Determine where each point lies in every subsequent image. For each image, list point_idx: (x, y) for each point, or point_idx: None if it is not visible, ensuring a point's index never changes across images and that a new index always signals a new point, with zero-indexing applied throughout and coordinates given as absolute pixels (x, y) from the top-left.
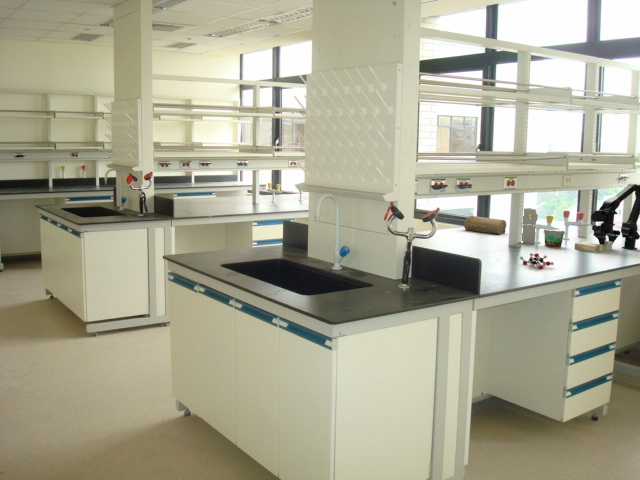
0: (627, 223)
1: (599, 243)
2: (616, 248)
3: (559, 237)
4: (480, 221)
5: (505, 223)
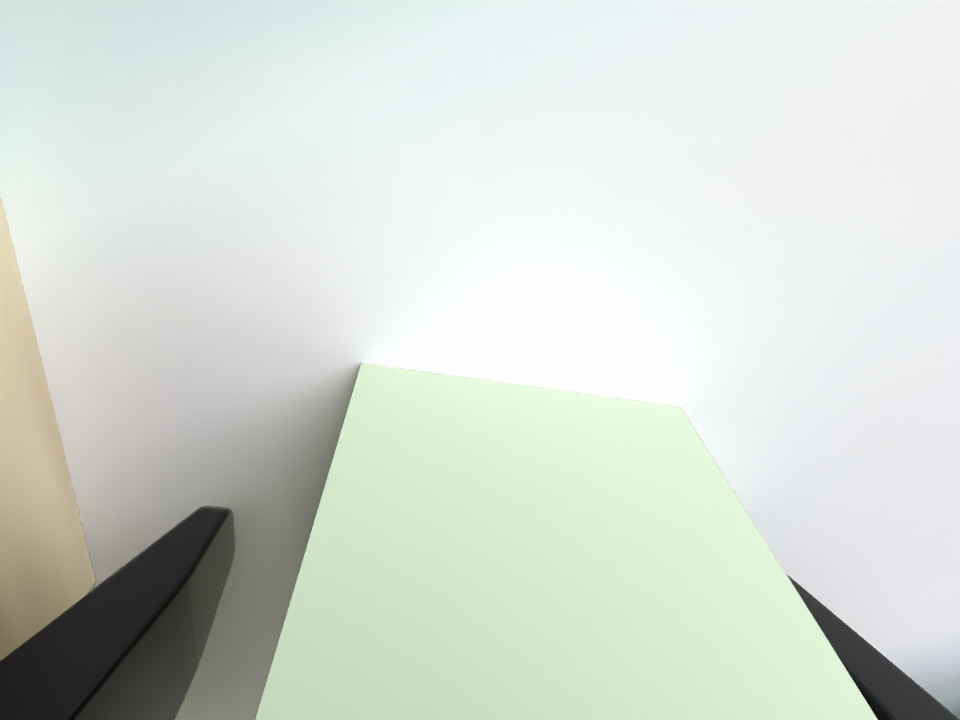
0: None
1: (2, 666)
2: (927, 601)
3: None
4: None
5: None
